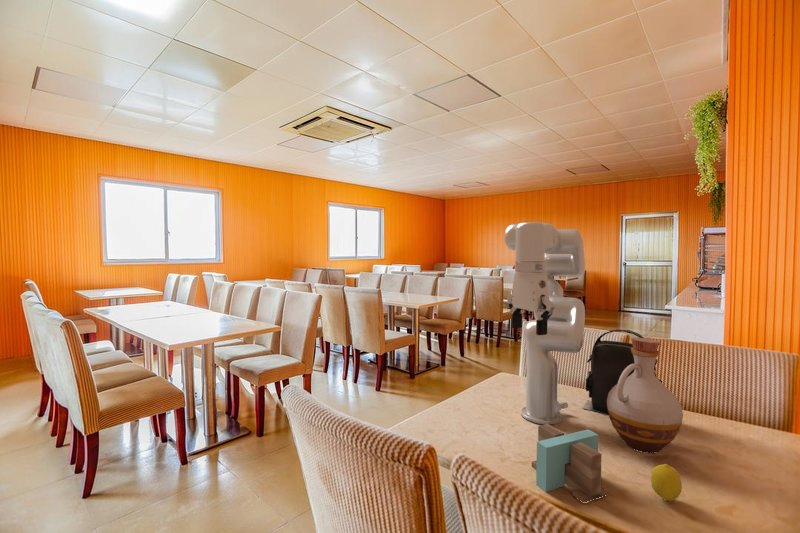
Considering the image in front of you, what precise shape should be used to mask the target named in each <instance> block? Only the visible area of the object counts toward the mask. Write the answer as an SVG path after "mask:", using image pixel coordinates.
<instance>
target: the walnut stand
mask: <svg viewBox="0 0 800 533" xmlns="http://www.w3.org/2000/svg"><path fill="white" fill-rule="evenodd" d="M537 429H538V430H537V442H538V441H542V440H546V439H550V438H554V437H558V436H563V435H565V432H563V431H561V430H560V429H558V428H556V427H554V426H552V424H539V425H538V427H537ZM531 468H533V469H535V470H536V469H537V459H536V460H534V461H533V460H532V461H531ZM564 485H566V486H568V487H569V488H570V487H571V488H570V489H572V497H573V496H575V497H576V498H578V499H579V500H581V501H582V502H587V501H590V500H593V499H596V498H599V497H602V496H605V495H607V496H608V490H607V489H605V488H603V487H602V453H601V452H599V451H598V452H597V451H596V450H594V449H592V448H590V447H588V446H587V445H585V444H583V443H577V444H573V445H571V463H568V464H565V473H564ZM573 489H574V490H573ZM576 498H575V499H576ZM579 500H578V501H579Z"/></svg>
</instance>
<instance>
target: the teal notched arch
mask: <svg viewBox="0 0 800 533" xmlns="http://www.w3.org/2000/svg"><path fill="white" fill-rule="evenodd" d="M577 443H583V444H585V445H587V446H588V447H590V448H592V449H594V450H596V451H597V452H599V434H598V433H596V432H594V431H592V430H590V429H588V428H587V429H585V430H584V429H583V430H580V431H575V432H572V433H568V434H564V435H563V436H558V437H554V438H550V439H546V440H542V441H538V440H537V441H536V460H537V469H535V470H536V473H535V475H536V480H535V481H536V482H535V484H536V486H537V487H538V488H540V489H541V490H543V491H544V492H545V493H547V492H550V491H551V492H552V491H554V490H557V489H560V488H559V487H561V488H564V487H565V483H564V473H565V464H568V463H571V445H573V444H577ZM563 486H564V487H563ZM556 488H557V489H556Z"/></svg>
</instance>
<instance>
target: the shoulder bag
mask: <svg viewBox="0 0 800 533" xmlns="http://www.w3.org/2000/svg"><path fill="white" fill-rule="evenodd" d="M614 332H615V333H617V332H619V333H621V332H622V333H623V332H624V333H628V334H632V335H634V336H635V337H637V338H645V337H644V336H643V335H641V334H640V333H638V332H635V331H633V330H631V329H620V328H617V329H610V330H609V331H606V332H604V333H602V334H601V335H600V336H598V338H597V339H596V340H595V342H594V345H593V346H592V348H591V349H592V350H591V353H590V355H589V358H588V359H587V361H586V364H587V363H590V370H589V371H588V372H587V374H588V375H587V377H586V378H585V391H586V392H588V398H591V399H590V400H589V399H587V400H586V402H585V403H584V405H583V406H582V409H584V410H588V411H591V412H592V411H593V412H597V413H601V414H605V415H609V413H608V409H607V398H608V394H609V392H610V390H611V389H612V388H613V387H614V386H615V385H616V384H618V381H619V378H620V376H621V374H622V372H623V371H624V369H625V368H626V367H627V366H629V365H631V364H635V362H634V356H633V353H632V352H631V348H633V345H632V343H630V342H624V341H623V342H621V341H614V340H601V339H602V338H603V337H604V336H606V335H608V334H611V333H614ZM657 363H658V359H657V358H656V361H655V366H654V374H655V376H656V377H657V367H656V365H657ZM634 370H635V369H633V370H632V371H631V372H630V373H629V375H628V376H630V375H631V374H632V373H634ZM628 376H627V377H628ZM659 380H660V382H661V383H662V384H663V380H661V379H659Z"/></svg>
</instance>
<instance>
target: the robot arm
mask: <svg viewBox="0 0 800 533" xmlns="http://www.w3.org/2000/svg"><path fill="white" fill-rule="evenodd" d="M504 242H505V245H506V247H507V248H508V249H509V250H510V251H511V250H512V251H515V258H514V259H515V262H514V263H515V264H514V265H515V266H514V271H515V273H514V276H513V280H512V281H513V282H512V288H511V289H512V290H511V291H512V292H511V294H509V295H508V296H507V297H506V301H507V304H508V308H509V310H510V312H509V313H510V314H511V328H512V329H521V328H522V327H523V313H522V311H526V312H527V311H528V312H533V317H534V319H532V320H530V321H528V322H526V324H525V326H524V331H523V332H524V336H523V337H524V342H525V349H526V384H525V385H526V387H525V388H526V391H525V392H526V393H525V394H526V396H525V406H524V407H523V408H521V411H520V413H521V414H520V415H521V416H522V417H523V418H524V419H525V420H527V421H529V422H532V423H534V424H539V425H545V424H549V425H555V424H559V423H561V422H562V420H563V415H562V413H561V410H562V409H567V408H568V407H569V404H568V402H567V401H562V402H559V401H558V383H559V382H558V381H559V380H558V374H559V371H558V370H559V367H558V366H559V364H558V362H557V359H556V358H555V356H554V355H553V354H552V352H559V353H566V354H577V353H579V352H580V351H581V350H582V347H583V343H584V335H585V334H584V333H585V324H586V323H585V322H586V308H585V304H584V302H583V301H582V300H581V298H576V297H567V296H564V289H563V287H562V286H561V284H560V283H559V282H558V281H557V279H555V278H553V277H565V278H566V277H568V278H569V277H570V278H575V277H580V276H582V275H583V274H584V271H585V267H586V261H585V260H586V258H585V250H584V249H585V248H584V247H585V245H584V240H583V236H582V234H581V232H580V231H579V230H578V229H575V228H558V229H557V228H556V227H555V226H554V225H553V224H551V223H548V222H538V221H535V222H533V221H530V222H527V221H525V222H520V223H512V224H510V225H508V226H507V227H506V229H505V231H504Z"/></svg>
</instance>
